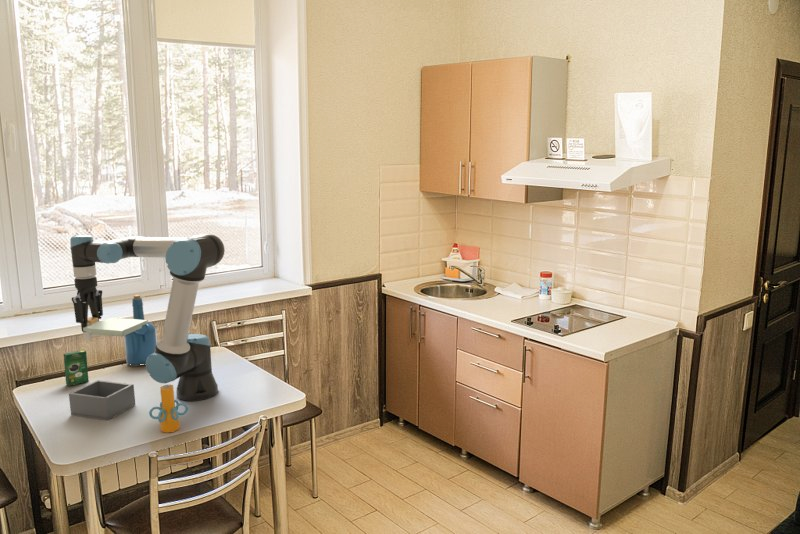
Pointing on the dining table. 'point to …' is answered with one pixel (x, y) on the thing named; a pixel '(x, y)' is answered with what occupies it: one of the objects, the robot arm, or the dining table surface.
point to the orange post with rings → (168, 410)
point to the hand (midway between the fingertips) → (91, 337)
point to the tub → (102, 399)
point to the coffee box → (76, 367)
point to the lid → (113, 326)
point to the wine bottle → (140, 337)
